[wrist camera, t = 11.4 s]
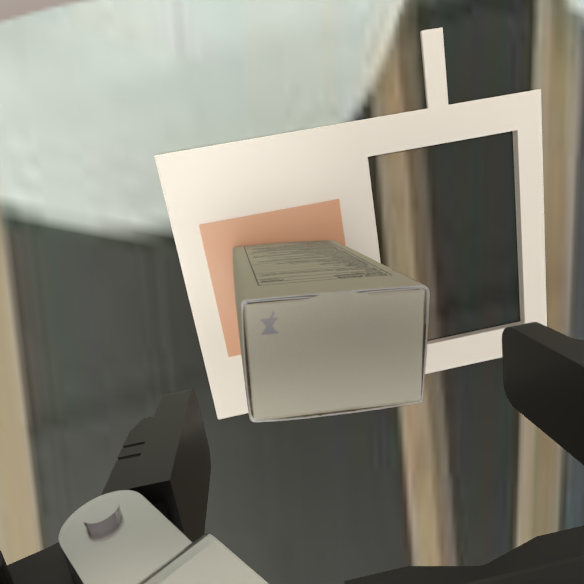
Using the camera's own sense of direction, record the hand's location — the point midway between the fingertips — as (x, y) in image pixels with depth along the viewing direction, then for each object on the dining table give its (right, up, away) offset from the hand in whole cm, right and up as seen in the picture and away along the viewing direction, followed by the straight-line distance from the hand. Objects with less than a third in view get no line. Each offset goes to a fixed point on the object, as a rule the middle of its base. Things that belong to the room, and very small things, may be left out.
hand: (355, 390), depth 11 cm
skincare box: (-2, +3, +15) cm, 15 cm away
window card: (+3, +6, +15) cm, 17 cm away
